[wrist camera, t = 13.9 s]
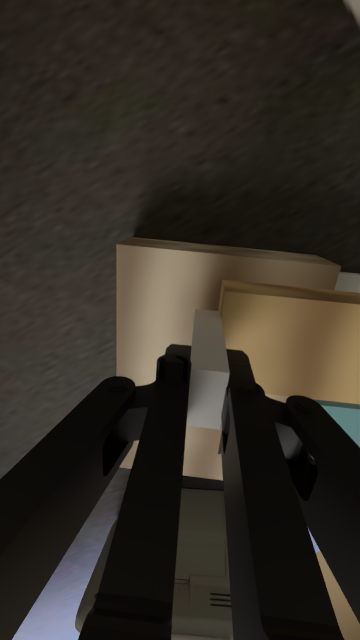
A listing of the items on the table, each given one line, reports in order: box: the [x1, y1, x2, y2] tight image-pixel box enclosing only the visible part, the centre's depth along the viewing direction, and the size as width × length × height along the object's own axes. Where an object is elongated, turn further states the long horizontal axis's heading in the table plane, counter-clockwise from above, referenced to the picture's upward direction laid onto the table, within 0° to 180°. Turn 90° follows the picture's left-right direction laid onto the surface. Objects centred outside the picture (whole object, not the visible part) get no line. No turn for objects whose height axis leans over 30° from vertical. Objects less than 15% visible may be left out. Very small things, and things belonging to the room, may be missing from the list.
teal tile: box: [311, 399, 360, 460], centre depth 23 cm, size 9×6×2 cm, turn 85°
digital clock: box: [75, 488, 233, 640], centre depth 26 cm, size 16×9×11 cm, turn 79°
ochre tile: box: [218, 280, 360, 404], centre depth 17 cm, size 9×6×2 cm, turn 86°
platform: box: [117, 237, 341, 480], centre depth 22 cm, size 13×18×4 cm
